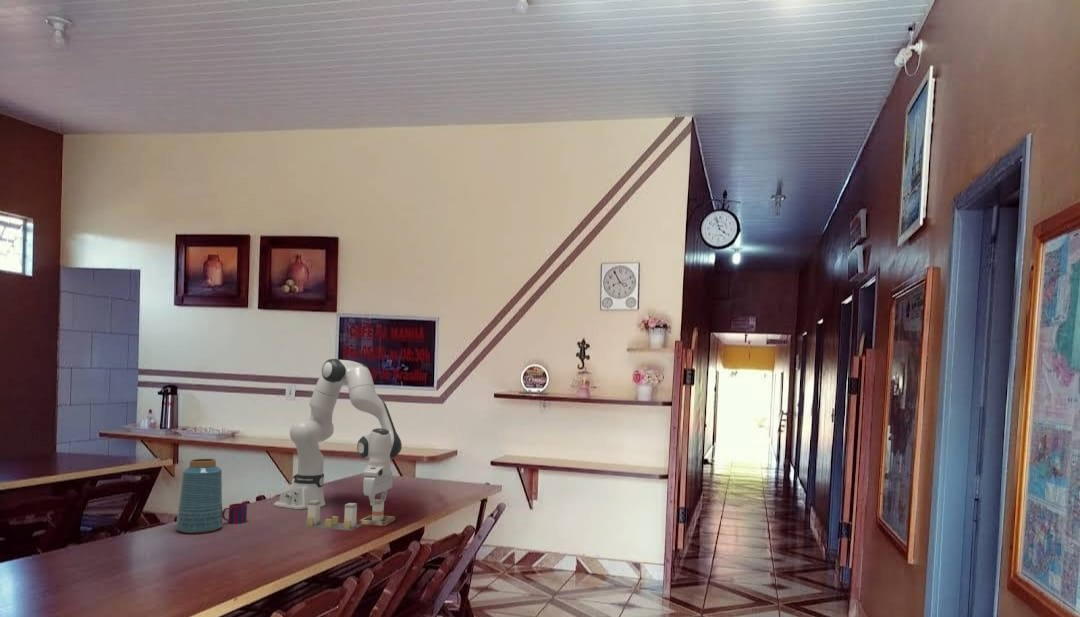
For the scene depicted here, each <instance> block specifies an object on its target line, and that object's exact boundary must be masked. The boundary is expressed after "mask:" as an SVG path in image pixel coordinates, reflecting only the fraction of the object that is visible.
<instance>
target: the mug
mask: <svg viewBox="0 0 1080 617" xmlns="http://www.w3.org/2000/svg"><path fill="white" fill-rule="evenodd" d="M226 510H228V519H227V518H226V517H225V512H226ZM247 510H248V504H247V503H243V502H241V503H240V502H238V503H231V504H229V505H228V507H225V508H224V509H222V520H223V519H224V520H225V522H226V521H227V522H228V523H229V524H233V525H236V524H238V525H239V524H243V523H247V518H248V517H247V516H248V514H247V513H248V511H247Z"/></svg>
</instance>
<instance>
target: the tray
mask: <svg viewBox="0 0 1080 617" xmlns="http://www.w3.org/2000/svg"><path fill="white" fill-rule="evenodd" d="M396 519H397V518H396V516H391V515H383V522H381V521H372V514H369V515H368V516H366V517H363V518H361V519H359V520H358V525H368V526H381V527H383V526H384V527H385V526H387V525H388V524H391V523H393V522H394V521H396Z"/></svg>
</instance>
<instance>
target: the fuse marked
mask: <svg viewBox="0 0 1080 617" xmlns="http://www.w3.org/2000/svg"><path fill="white" fill-rule="evenodd" d="M375 501H376V505H374V506H371V508H372V512H371V515H372V519H371V521H381V522H383V521H384V520H383V516H385V515H384V512H385V510H384V508H385V501H384V500H380V499H378V498H375Z"/></svg>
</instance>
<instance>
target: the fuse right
mask: <svg viewBox="0 0 1080 617" xmlns="http://www.w3.org/2000/svg"><path fill="white" fill-rule="evenodd" d="M357 510H358V503H355V502H348V503H345V504H344V518H343V519H344V520H343V522H344V521H345V520H346V521H350V528H354V527H356V524H357V523H356V518H357V514H358V513H357Z"/></svg>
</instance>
